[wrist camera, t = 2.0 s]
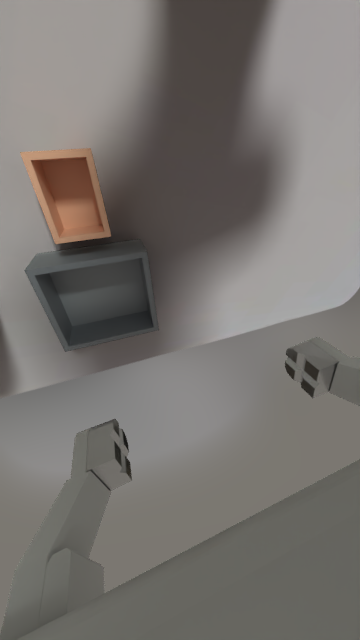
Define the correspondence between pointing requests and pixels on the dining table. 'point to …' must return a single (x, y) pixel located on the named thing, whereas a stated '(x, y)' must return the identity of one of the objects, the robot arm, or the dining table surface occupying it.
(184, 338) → the dining table surface
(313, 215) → the dining table surface
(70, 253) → the big crate
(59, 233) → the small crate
